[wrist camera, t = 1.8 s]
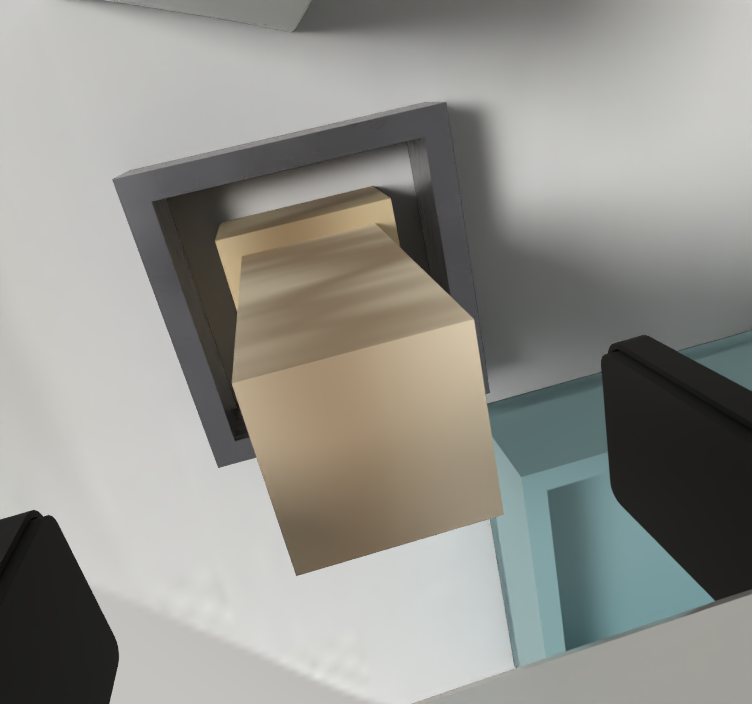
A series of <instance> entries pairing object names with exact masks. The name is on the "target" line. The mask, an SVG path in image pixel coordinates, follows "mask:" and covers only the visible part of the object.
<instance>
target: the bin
mask: <svg viewBox="0 0 752 704" xmlns="http://www.w3.org/2000/svg"><path fill="white" fill-rule="evenodd" d="M677 352H679V353H681V354H683V355H685V356H687V357H689V358H690V359H692V360H694V361H696V362H698V363H700V364H702V365H704V366H706V367H707V368H709V369H711V370H713V371H715V372H717V373H719V374H721V375H722V376H724V377H726V378H728V379H730V380H732V381H734V382H736V383H738V384H739V385H741V386H743V387H745V388H747V389H749V390H751V391H752V331H748V332H745V333H741V334H738V335H734V336H730V337H727V338H723V339H720V340H716V341H712V342H709V343H705V344H702V345H698V346H695V347H691V348H687V349H684V350H680V351H677ZM487 407H488V414H489V420H490V427H491V433H492V440H493V447H494V453H495V460H496V466H497V473H498V479H499V486H500V492H501V499H502V505H503V512H504V515H501V516H498V517H494V518H491V519H490V522H491V528H492V534H493V540H494V546H495V552H496V558H497V564H498V570H499V576H500V582H501V588H502V594H503V600H504V606H505V612H506V619H507V625H508V631H509V637H510V643H511V649H512V655H513V661H514V666H515V668H518V667H521V666H524V665H527V664H530V663H533V662H535V661H538V660H541V659H544V658H547V657H550V656H553V655H556V654H559V653H562V652H565V651H568V650H571V649H574V648H577V647H580V646H583V645H586V644H589V643H592V642H595V641H598V640H601V639H604V638H607V637H610V636H613V635H616V634H619V633H622V632H625V631H628V630H631V629H634V628H637V627H640V626H643V625H646V624H648V623H651V622H654V621H657V620H660V619H663V618H666V617H669V616H672V615H675V614H678V613H681V612H684V611H687V610H690V609H693V608H696V607H699V606H702V605H705V604H708V603H711V602H714V601H715V600H714V599H713V598H712V597H711V596H710V595H709V594H708V593H707V592H706V591H705V590H704V589H703V588H702V587H701V586H700V585H699V584H698V583H697V582H696V581H695V580H694V579H693V578H692V577H691V576H690V575H689V574H688V573H687V572H686V571H685V570H684V569H683V568H682V567H681V566H680V565H679V564H678V563H677V562H676V561H675V560H674V559H673V558H672V557H671V556H670V555H669V554H668V553H667V552H666V551H665V550H664V549H663V548H662V547H661V546H660V545H659V544H658V543H657V542H656V540H655V539H654V538H653V537H652V536H651V535H650V534H649V533H648V532H647V531H646V530H645V529H644V528H643V527H642V526H641V525H640V524H639V523H638V522H637V521H636V520H635V519H634V518H633V517H632V516H631V515H630V514H629V513H628V512H627V511H626V510H625V509H624V508H623V507H622V506H621V505H620V504H619V503H618V501H617V500H616V498H615V496H614V494H613V492H612V489H611V484H610V474H609V461H608V448H607V435H606V422H605V409H604V395H603V382H602V372H601V373H598V374H594V375H590V376H587V377H583V378H580V379H576V380H572V381H569V382H565V383H562V384H558V385H554V386H551V387H547V388H544V389H540V390H536V391H533V392H529V393H526V394H522V395H518V396H515V397H511V398H508V399H504V400H501V401H497V402H493V403H490V404H487Z"/></svg>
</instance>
